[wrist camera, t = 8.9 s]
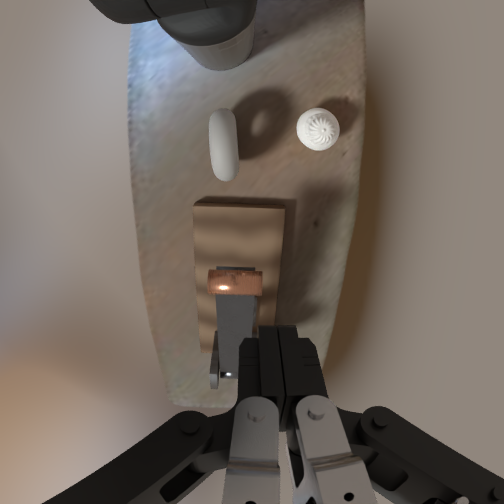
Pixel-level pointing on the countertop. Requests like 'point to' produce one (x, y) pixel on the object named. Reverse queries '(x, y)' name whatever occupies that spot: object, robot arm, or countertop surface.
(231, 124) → the donut
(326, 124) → the white rounded bulbous piece
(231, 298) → the lever
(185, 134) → the countertop surface
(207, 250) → the cracker base
